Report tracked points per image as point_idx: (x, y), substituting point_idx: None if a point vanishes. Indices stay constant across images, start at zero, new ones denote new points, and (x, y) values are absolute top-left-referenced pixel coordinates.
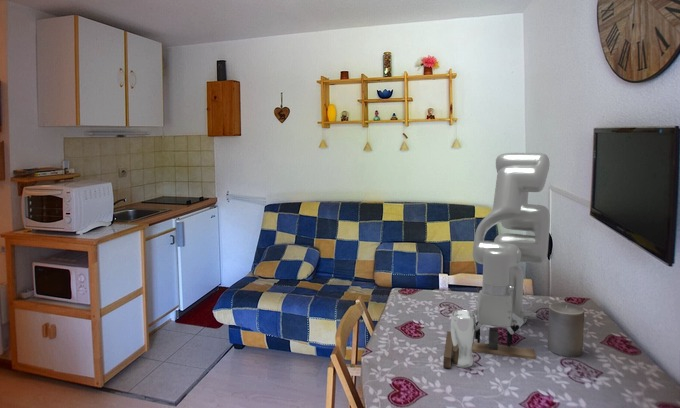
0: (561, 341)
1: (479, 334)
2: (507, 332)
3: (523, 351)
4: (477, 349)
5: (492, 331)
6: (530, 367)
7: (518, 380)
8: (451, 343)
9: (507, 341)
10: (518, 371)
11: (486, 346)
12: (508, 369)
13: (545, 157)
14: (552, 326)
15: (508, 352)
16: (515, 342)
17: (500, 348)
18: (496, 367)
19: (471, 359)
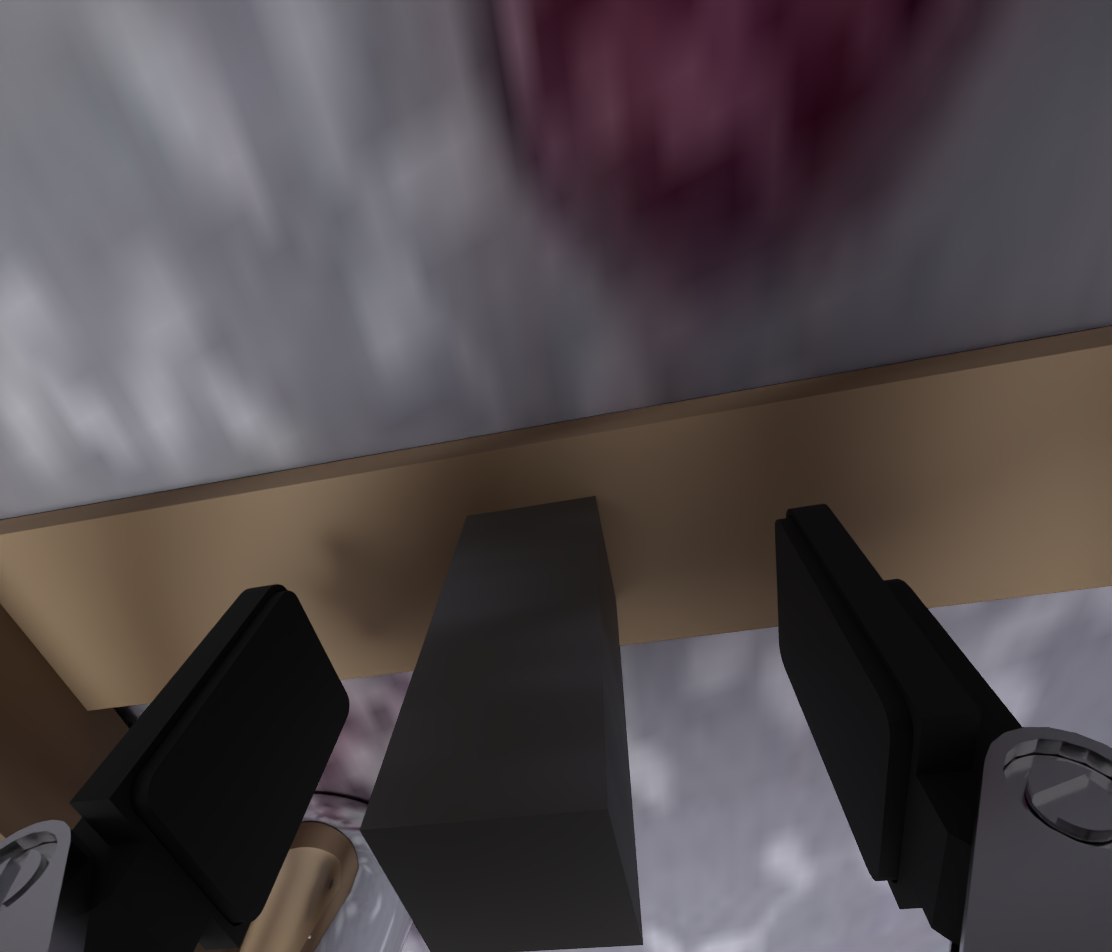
0: None
1: (274, 855)
2: (883, 811)
3: (1020, 489)
4: (367, 673)
5: (503, 940)
6: None
7: (829, 920)
8: None
9: (808, 715)
10: (847, 826)
11: (446, 554)
12: (752, 825)
13: None
14: None
15: (772, 602)
16: (939, 10)
17: (652, 533)
18: (639, 829)
19: (406, 935)
